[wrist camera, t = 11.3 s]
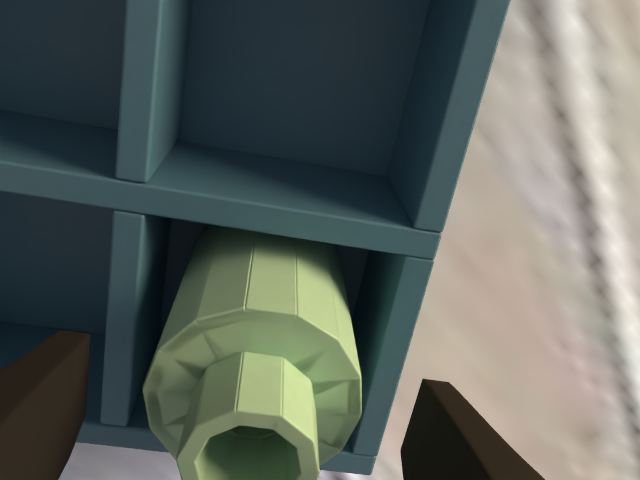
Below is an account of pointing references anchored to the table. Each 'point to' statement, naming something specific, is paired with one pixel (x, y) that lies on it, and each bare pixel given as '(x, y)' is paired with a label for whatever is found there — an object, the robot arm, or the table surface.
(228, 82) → the carrier
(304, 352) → the mint bottle
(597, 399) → the table surface
